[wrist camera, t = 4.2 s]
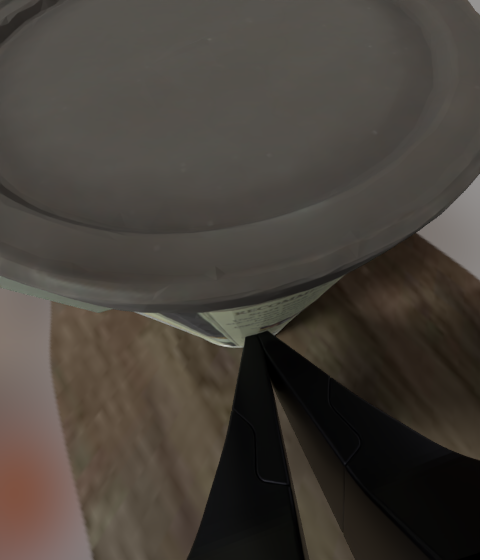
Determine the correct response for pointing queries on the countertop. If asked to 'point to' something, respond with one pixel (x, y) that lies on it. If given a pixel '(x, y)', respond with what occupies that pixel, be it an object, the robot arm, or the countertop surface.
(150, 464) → the countertop surface
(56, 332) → the countertop surface
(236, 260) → the coffee can
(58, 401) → the countertop surface
